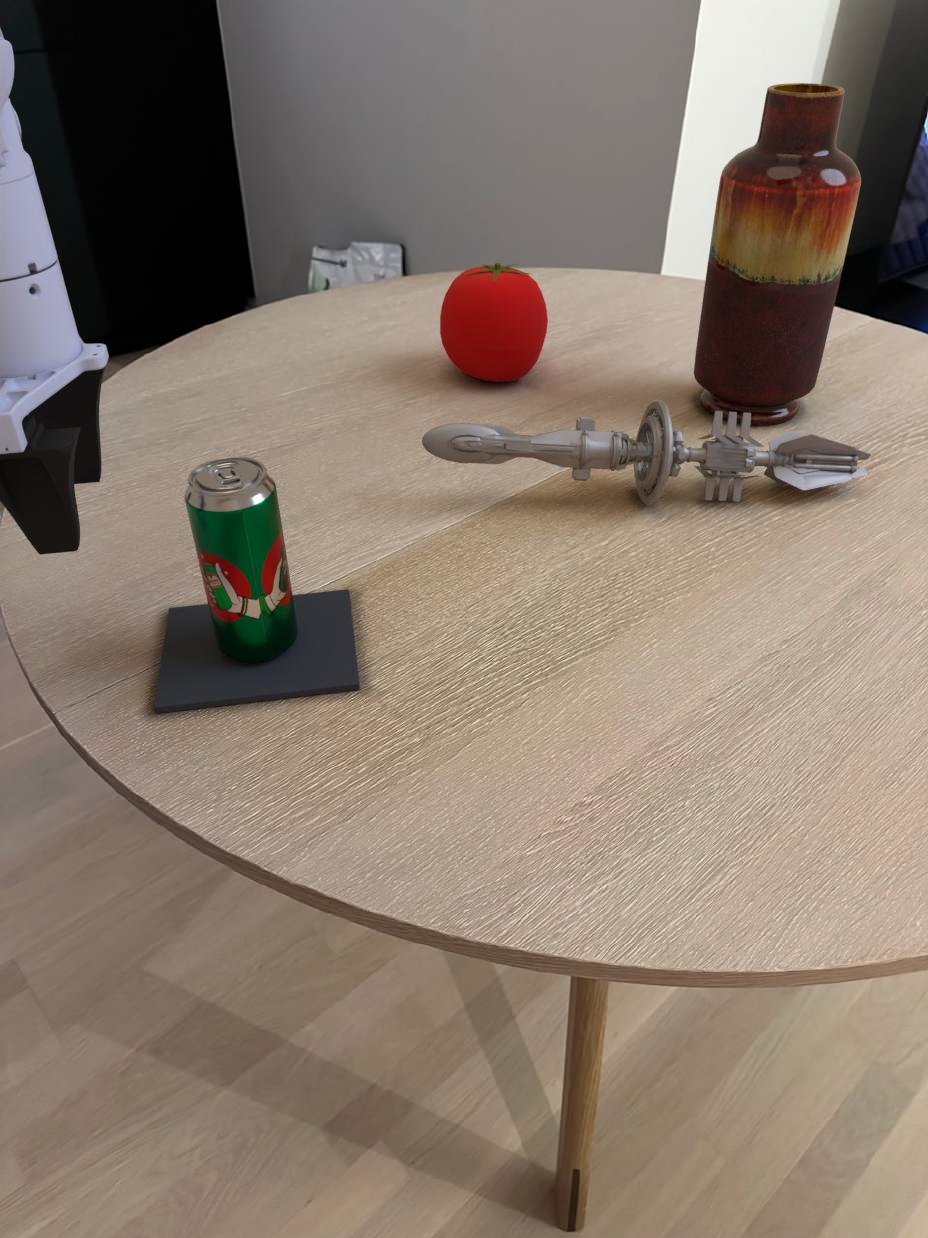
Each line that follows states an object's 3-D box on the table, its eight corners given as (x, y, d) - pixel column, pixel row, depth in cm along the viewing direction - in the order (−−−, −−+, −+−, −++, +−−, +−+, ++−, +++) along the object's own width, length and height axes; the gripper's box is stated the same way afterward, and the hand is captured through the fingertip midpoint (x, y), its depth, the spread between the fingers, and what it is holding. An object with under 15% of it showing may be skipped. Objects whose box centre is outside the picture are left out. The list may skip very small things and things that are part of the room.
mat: (155, 714, 54) (153, 707, 54) (170, 613, 62) (168, 607, 62) (359, 689, 56) (359, 683, 55) (349, 594, 64) (348, 588, 63)
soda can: (285, 610, 61) (258, 445, 54) (310, 653, 58) (284, 483, 50) (209, 632, 60) (171, 464, 52) (230, 678, 56) (192, 504, 49)
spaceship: (421, 385, 72) (427, 386, 65) (848, 410, 76) (901, 414, 68) (417, 487, 74) (422, 500, 66) (833, 507, 78) (883, 521, 70)
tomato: (488, 404, 88) (488, 289, 82) (422, 372, 95) (417, 263, 88) (568, 376, 93) (574, 266, 87) (500, 347, 100) (501, 242, 94)
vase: (756, 374, 93) (811, 74, 77) (836, 415, 85) (915, 91, 69) (665, 395, 89) (703, 84, 74) (739, 440, 81) (799, 103, 66)
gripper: (53, 310, 39) (128, 577, 47) (103, 222, 50) (157, 449, 59) (-125, 322, 38) (-17, 591, 46) (-33, 229, 50) (41, 459, 58)
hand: (71, 513), depth 52 cm, fingers open, 7 cm apart
